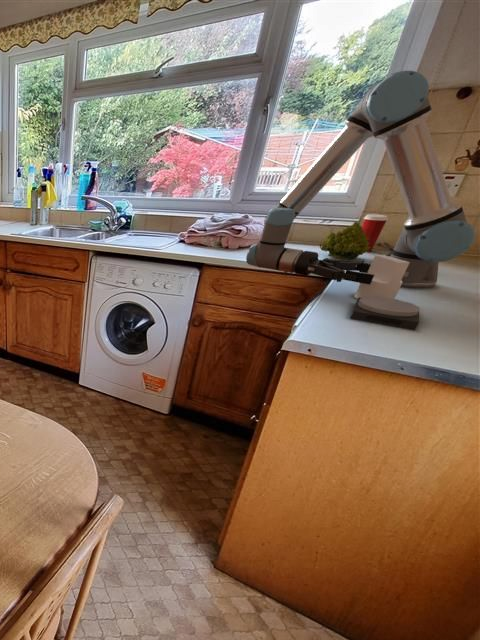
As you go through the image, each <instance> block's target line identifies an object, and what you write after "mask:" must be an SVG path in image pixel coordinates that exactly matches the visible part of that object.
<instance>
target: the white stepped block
mask: <svg viewBox="0 0 480 640" xmlns="http://www.w3.org/2000/svg"><path fill="white" fill-rule="evenodd" d="M386 255H387V254H377V255H374V257H373V259H372V261H371V263H370V264H371V266H370V268H369V270H368V272H367V274H373V275H374V277H373V279H372V282H371V284H370V285H369V284H364V283H359V285H358V287H357V289H356V292H355V293H354V298H355V299H357V300H358V298H359V297H360V298H365V297H381V298H389V299H395V300H396V297H397V295H398V293H399V291H400V289H401V288H402V287H401V285H402V281H401V279H402V277H403V275H404V273H405V271H406V269H407V267H408V265H409V263H410V262H407V261H403V260H400V259H396V258H393V257H390V256H386Z"/></svg>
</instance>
